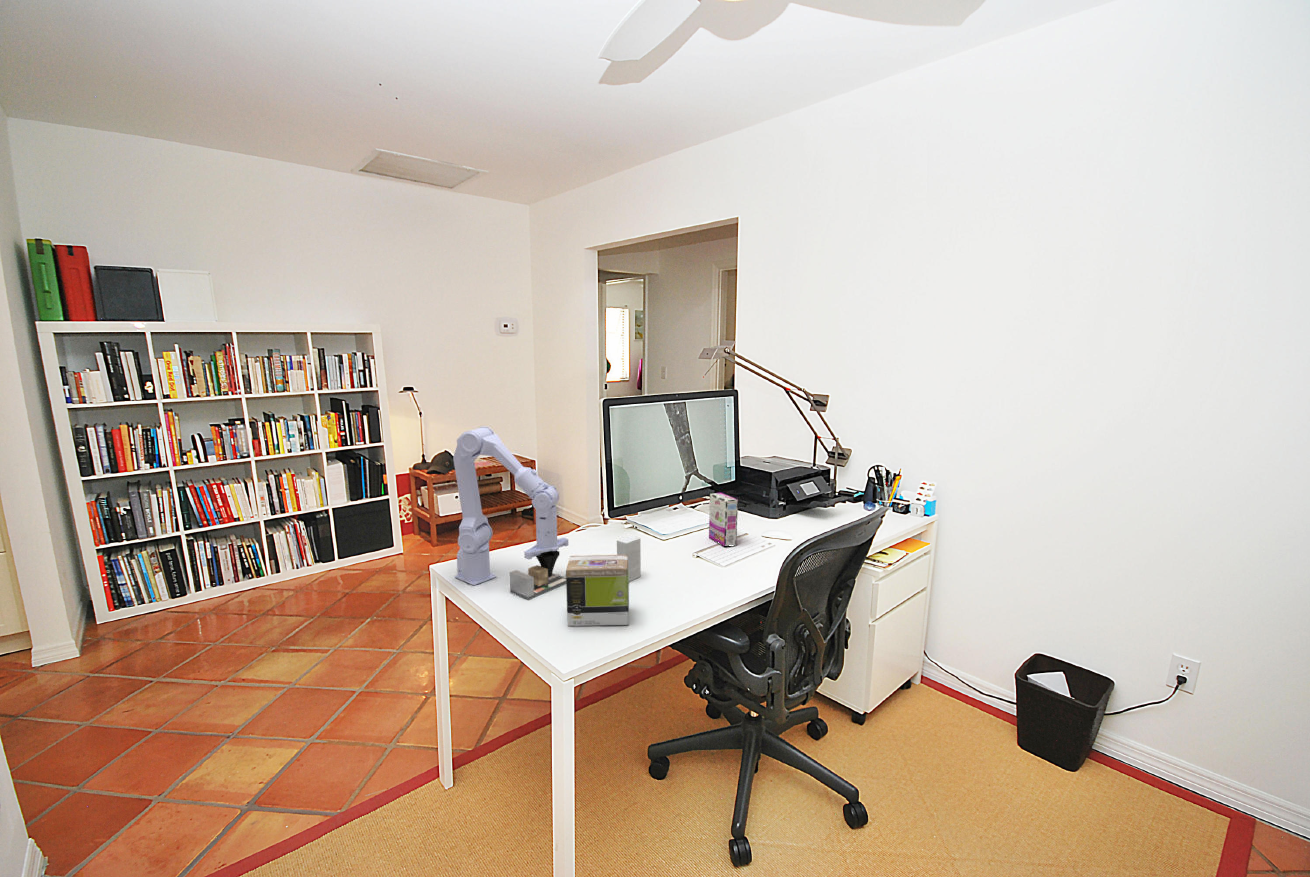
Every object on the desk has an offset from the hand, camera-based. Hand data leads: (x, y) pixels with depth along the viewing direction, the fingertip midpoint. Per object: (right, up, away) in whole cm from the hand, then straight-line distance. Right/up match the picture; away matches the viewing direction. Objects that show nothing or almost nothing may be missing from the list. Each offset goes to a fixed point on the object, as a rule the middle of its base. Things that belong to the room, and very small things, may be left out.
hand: (547, 576), depth 161 cm
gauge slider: (-1, -2, -3) cm, 4 cm away
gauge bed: (-2, -3, -2) cm, 4 cm away
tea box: (+16, -6, -19) cm, 26 cm away
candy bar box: (+54, +3, +36) cm, 65 cm away
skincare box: (+23, -2, +5) cm, 23 cm away
